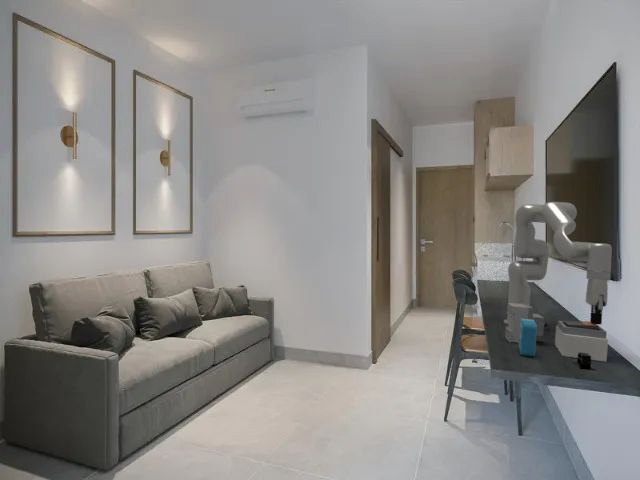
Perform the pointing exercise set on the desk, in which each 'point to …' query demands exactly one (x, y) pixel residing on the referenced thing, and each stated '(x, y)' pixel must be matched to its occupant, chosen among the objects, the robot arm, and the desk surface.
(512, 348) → the desk surface
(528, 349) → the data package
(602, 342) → the switch panel
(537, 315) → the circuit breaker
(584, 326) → the rocker
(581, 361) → the black slotted block
